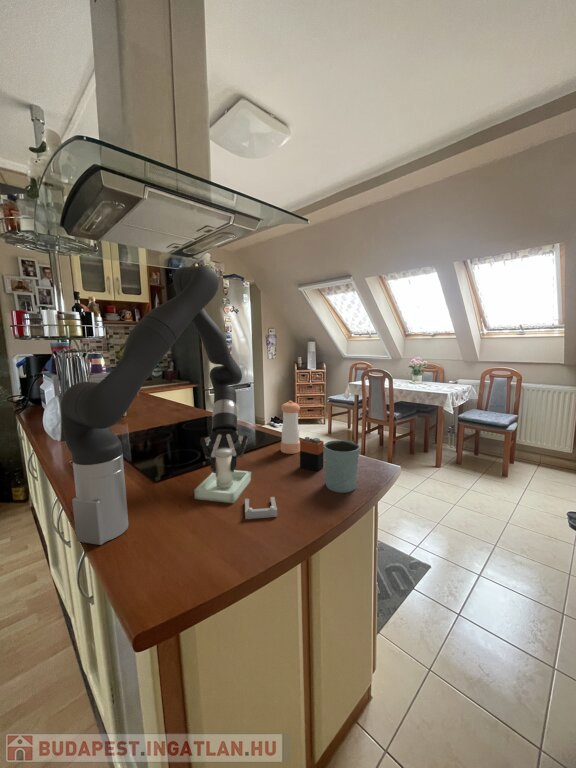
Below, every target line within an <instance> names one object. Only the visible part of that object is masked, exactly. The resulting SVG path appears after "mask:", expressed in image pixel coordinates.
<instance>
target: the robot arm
mask: <svg viewBox="0 0 576 768" xmlns="http://www.w3.org/2000/svg"><path fill="white" fill-rule="evenodd" d="M172 277H173V278H172V284H173V288H174V290H175V293H176V295H175V296H174V297H172V298H171V299H169V300H167V301H165V302H163V303H162V304H160V305H158V306H156V307H155V308H153V309H151V310H150V311H148V312H147V313H146V314H145V315H144V316H143V317H142V318H141V319H140V320H139V321H138V322H137V323H136V325H135V326H133V328H132V329H131V331H130V332H129V334H128V336H127V338H126V341H125V345H124V349H123V353H122V356H121V358H120V360H119V362H118V363H117V364H116V365H115V366H114V367H113V369H112V370H111V371H110V372H109V373H108V374H107V375H106V376H105V377H104V378H103V379H101V381H99V382H93V381H92V382H91V381H80V382H76V383H74V384H73V385H70V387H68V388H67V389H66V391H65V392H64V394H63V395H62V399H61V404H60V408H61V410H60V411H61V412H60V413H61V419H62V426H63V432H64V439H65V443H66V444H65V445H66V446H67V449H68V451H69V452H70V454H71V458H72V459H71V460H72V469H73V476H74V477H73V478H74V487H75V496H76V497H74V498H72V500H71V501H72V509H73V520H74V529H75V538H76V542H79V543H85V544H91V545H99V546H101V545H103V544H105V543H107V542H108V541H111V540H114V539H115V538H118V537H120V536H121V535H122V534H124V533H125V532H126V530H128V528H129V516H128V515H129V514H128V504H127V502H128V501H127V491H126V489H127V488H126V480H125V469H124V454H123V443H122V442H121V440H120V438H118V437H117V436H116V435H115V433H114V432H113V430H112V429H111V427H113V426H115V424H117V423H119V421H120V420H121V419H122V418H123V417H124V416H125V414H126V413H127V412H128V410H129V408H130V406H131V405H132V403H133V401H134V399H135V398H136V397H137V395H138V393H139V391H140V390H141V388H142V387H143V385H144V383H145V382H146V380H147V379H148V378H149V376H150V375H151V374H152V372H153V371H154V370H155V369H156V367H157V366H158V364H159V363H160V362H161V360H162V359H163V358H164V357H166V356H165V355H166V354H167V353H168V352H169V351H170V350H171V349H172V348H173V345H174V344H175V343H176V342H177V340H178V339H179V338H180V336H181V335H182V334H183V332H184V331H185V329H187V327H188V326H189V325H190V323H192V324H193V326H194V327H195V330H196V331H197V333H198V335H199V337H200V339H201V342H202V345H203V347H204V348H203V349H204V350H205V353H206V355H207V358H208V361H209V363H211V364H213V365H218V366H214V367H212V368H211V369H210V372H209V381H210V383H211V385H212V390H213V408H212V414H211V415H212V419H211V433H210V434H209V436H208V437H204V436H203V437H200V439H199V440H200V443H201V444H200V445H201V447H202V450H203V454H204V458H205V460H210V471H211V472H212V473H216V465H215V462H216V456H215V450H216V449H218V448H223V447H228V448H231V449H232V459H231V472H234V470H237V467H238V465H237V460H238V459H239V458H242V457H244V453H245V450H246V447H247V444H248V435H243V436H242V435H239V432H238V409H237V391H236V389H235V388H234V387H231V386H235V385H238V384H240V383H241V381H242V378H243V373H242V370H241V368H240V366H239V364H238V363H237V362H236V360H235V359H234V358H233V356H232V354H231V352H230V350H229V346H228V343H227V340H226V337H225V335H224V333H223V331H222V329H221V327H219V326H218V325H217V324H216V322H215V321H214V320H213V319H212V318H211V316H210V315H209V314H208V311H206V309H205V307H206V306H207V305H208V304H209V303H210V302H211V301H212V300H213V299H214V297H215V296H216V294H217V292H218V289H219V281H220V280H219V276H218V274H217V273H216V271H215V270H214V269H213V268H211V267H209V266H205V265H192V266H181V267H179V268H177V269H176V270H175V271H174V274H173V276H172ZM238 441H239V444H240V446H239V449H238V451H236V449H235V445H236V443H237V442H238ZM210 442H211V443H212V445H213V448H212V451H211V452H209V449H208V446H209V445H210Z"/></svg>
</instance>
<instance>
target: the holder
mask: <svg viewBox="0 0 576 768" xmlns="http://www.w3.org/2000/svg"><path fill="white" fill-rule="evenodd" d="M244 516H245V518H244V519H245V520H252V519H253V520H254V519H265V518H266V519H267V518H277V517H278V507H277V503H276V498H275V496H270V506H269V507H266V508H253V507H250V498H244Z"/></svg>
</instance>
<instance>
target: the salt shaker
mask: <svg viewBox="0 0 576 768" xmlns="http://www.w3.org/2000/svg"><path fill="white" fill-rule="evenodd" d="M300 409H301V406H300V405H299V404H298V403H296V402H294V401H292V400H288V402H285V403H283V404H282V405H281V407H280V410H281V412H282V417H283V418H282V421H283V422H282V428H281V441H280V452H281V453H283V454H287V455H291V454H293V455H294V454H297V453H300V441H301V440H300V428H299V413H298V412H300Z"/></svg>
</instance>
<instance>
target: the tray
mask: <svg viewBox="0 0 576 768" xmlns="http://www.w3.org/2000/svg"><path fill="white" fill-rule="evenodd" d="M232 478H233V485H232V486H230V487H227V488H220V487H217V485H216V480H217V478H216V473H213V472H211V473H210V474H209V475H208V476H207V478H205V479H204V480H203V481H202V482H200V483H199V485H198V486H196V488H194V490H193V491H194V499H195V500H199V501H200V500H201V501H209V502H219V503H227V504H235V503H236V501H237V500H238V499H239V497H240V496H241V494H242V493H243V492H244V490H245V489H246V488H247V486H248V485H249V484H250V483H251V481H252V471H248V470H237V469H236V470H234V472H232Z"/></svg>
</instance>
